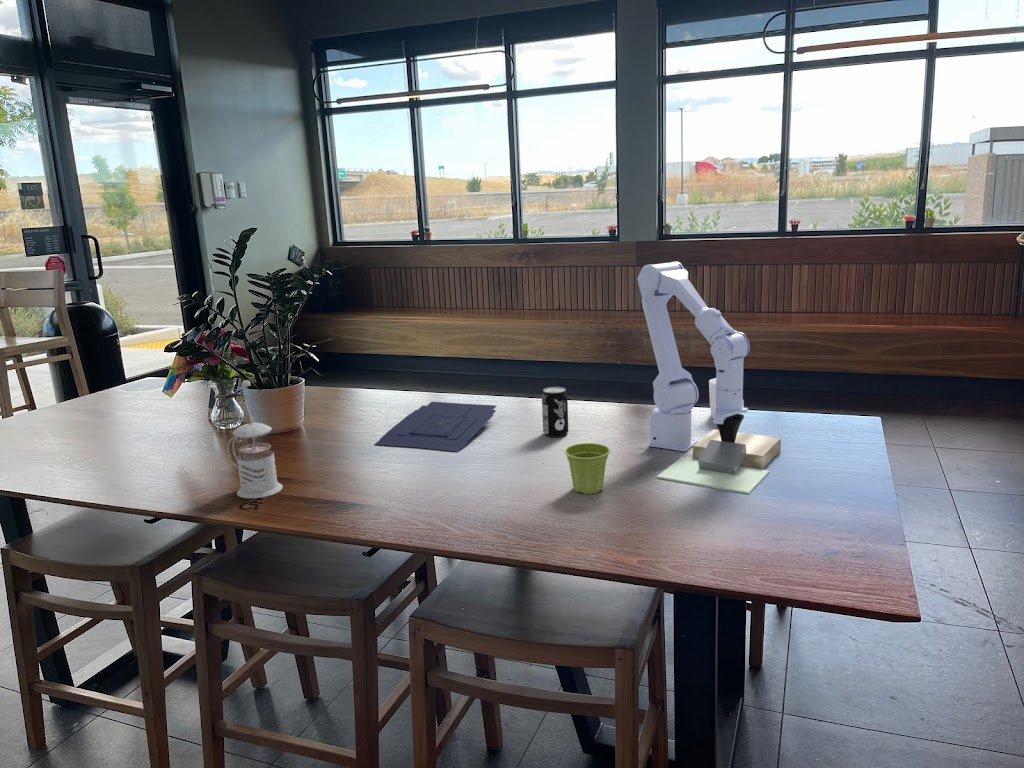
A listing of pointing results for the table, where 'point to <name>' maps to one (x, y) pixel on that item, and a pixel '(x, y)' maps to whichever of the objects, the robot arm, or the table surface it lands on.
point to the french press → (255, 461)
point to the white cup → (712, 395)
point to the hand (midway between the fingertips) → (728, 446)
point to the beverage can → (555, 411)
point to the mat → (713, 476)
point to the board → (756, 448)
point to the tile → (722, 456)
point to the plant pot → (587, 466)
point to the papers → (439, 426)
